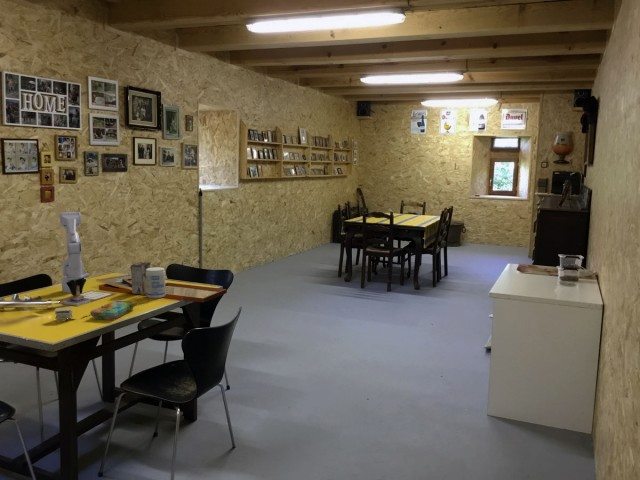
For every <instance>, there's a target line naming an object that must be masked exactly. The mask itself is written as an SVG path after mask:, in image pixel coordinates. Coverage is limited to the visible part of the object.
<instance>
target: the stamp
mask: <svg viewBox="0 0 640 480" xmlns="http://www.w3.org/2000/svg"><path fill="white" fill-rule="evenodd" d="M69 297H70V300H71V301H81V300H84V295H80V286H79V285H77V287H76V295H75V296H74V295H72V294H71V295H70V296H69Z"/></svg>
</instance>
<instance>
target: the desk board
mask: <svg viewBox="0 0 640 480" xmlns="http://www.w3.org/2000/svg"><path fill="white" fill-rule="evenodd" d="M91 291H93V292H101V293H109V294H112V295H108V296H105V297H102V298H99V299H95V300H93V299H90V300H91V302H89V303H86V304H82V305H79V306H75V305H68V304H64V301H66V300H70V296H68V297H64V298H59V299H57V300H55V301H60V302H59V303H55V304H56V305H57V304H58V305H63V306H68V307H77V308H78V307H80V306H83V305H87V304H90V303H93V302H96V301H100V300H103V299H106V298H109V297H112V296H116V295H117V293H114V292H105V291H99V290H89V291H85V292H82V294H84V293H87V292H91ZM84 299H86V298H84Z"/></svg>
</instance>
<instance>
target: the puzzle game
mask: <svg viewBox="0 0 640 480" xmlns="http://www.w3.org/2000/svg"><path fill="white" fill-rule="evenodd" d="M137 306H138V301H130V300H129V301H128V300H113V301H111V302H108V303H106V304H104V305H101V306H99V307H97V308H95V309H93V310H91V311H90V312H89V313H90V316H91V317H92V318H93V319H94V318H95V319H94V320H102V319H107V320H106V321H115V320H117V319H119V318H120V317H124V316H125V315H126V314H128V313H130V312H132V311H133V309H134V308H135V307H137ZM116 318H117V319H116ZM114 319H115V320H114Z"/></svg>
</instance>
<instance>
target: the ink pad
mask: <svg viewBox="0 0 640 480" xmlns="http://www.w3.org/2000/svg"><path fill="white" fill-rule="evenodd" d="M89 302H90V303H92V302H91V300H90V299H84V300H81V301H71V300H66V301H64V304H68V305H67V306H69V305H75V306H74V307H76V306H77V307H80V306H79V305H81V306H83V305H82V304H84V305H87V304H90V303H89ZM86 303H87V304H86Z"/></svg>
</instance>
